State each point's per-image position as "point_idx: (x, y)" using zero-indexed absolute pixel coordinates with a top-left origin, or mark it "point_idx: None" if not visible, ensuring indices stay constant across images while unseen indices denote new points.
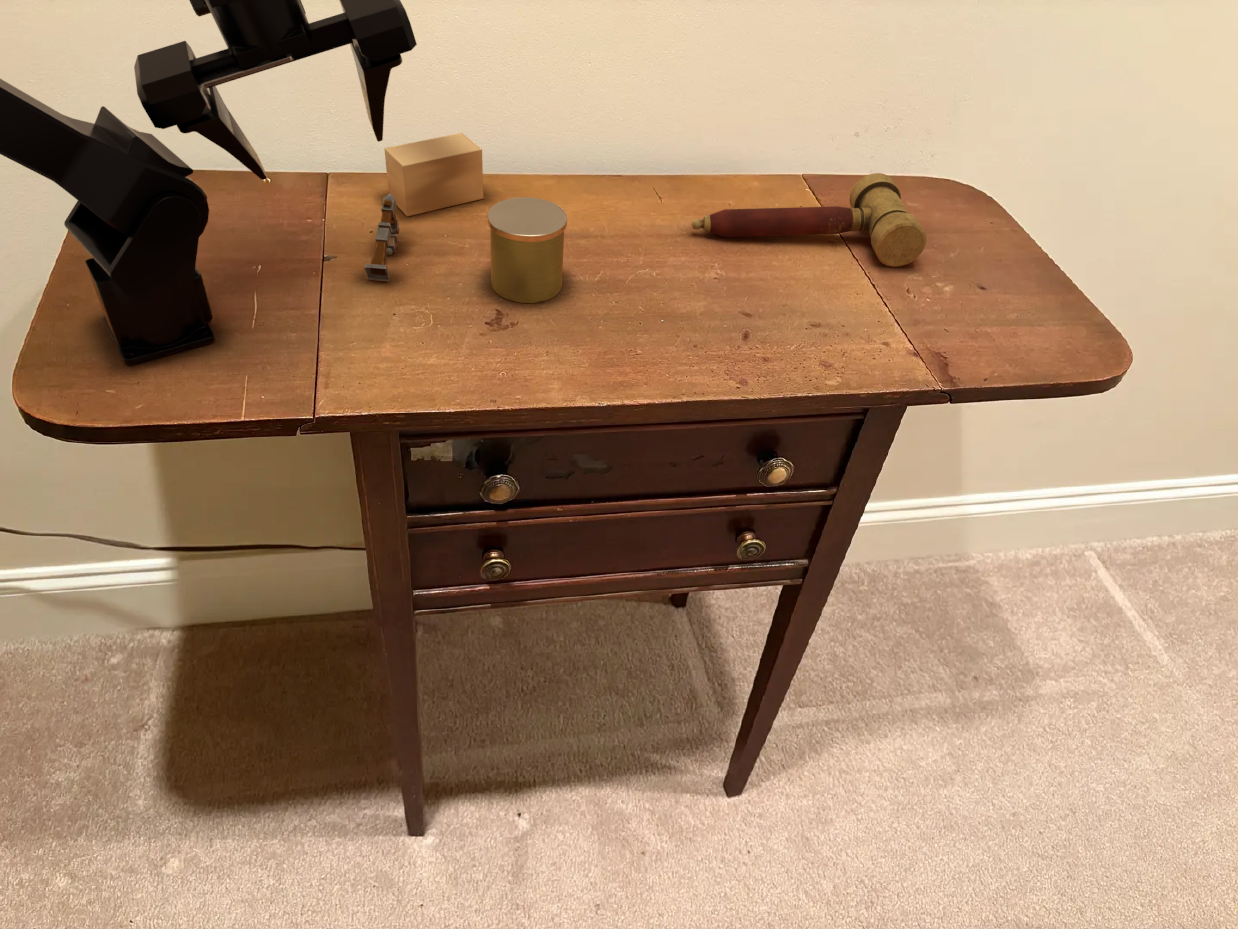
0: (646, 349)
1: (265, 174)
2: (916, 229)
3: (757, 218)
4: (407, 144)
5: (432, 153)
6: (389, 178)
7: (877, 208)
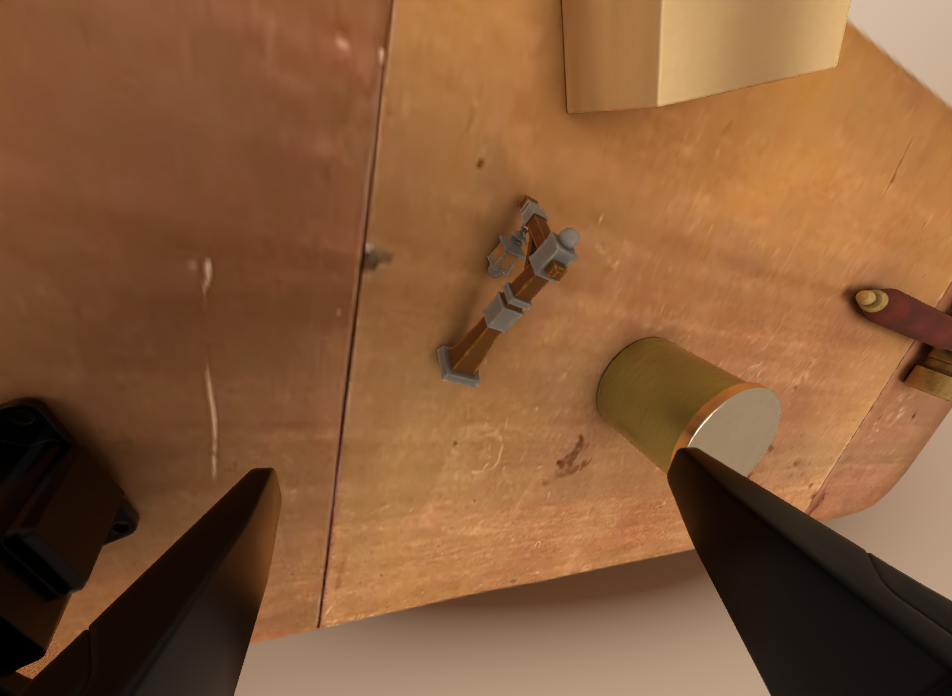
0: (671, 499)
1: (278, 504)
2: None
3: (909, 329)
4: None
5: (746, 48)
6: None
7: None
